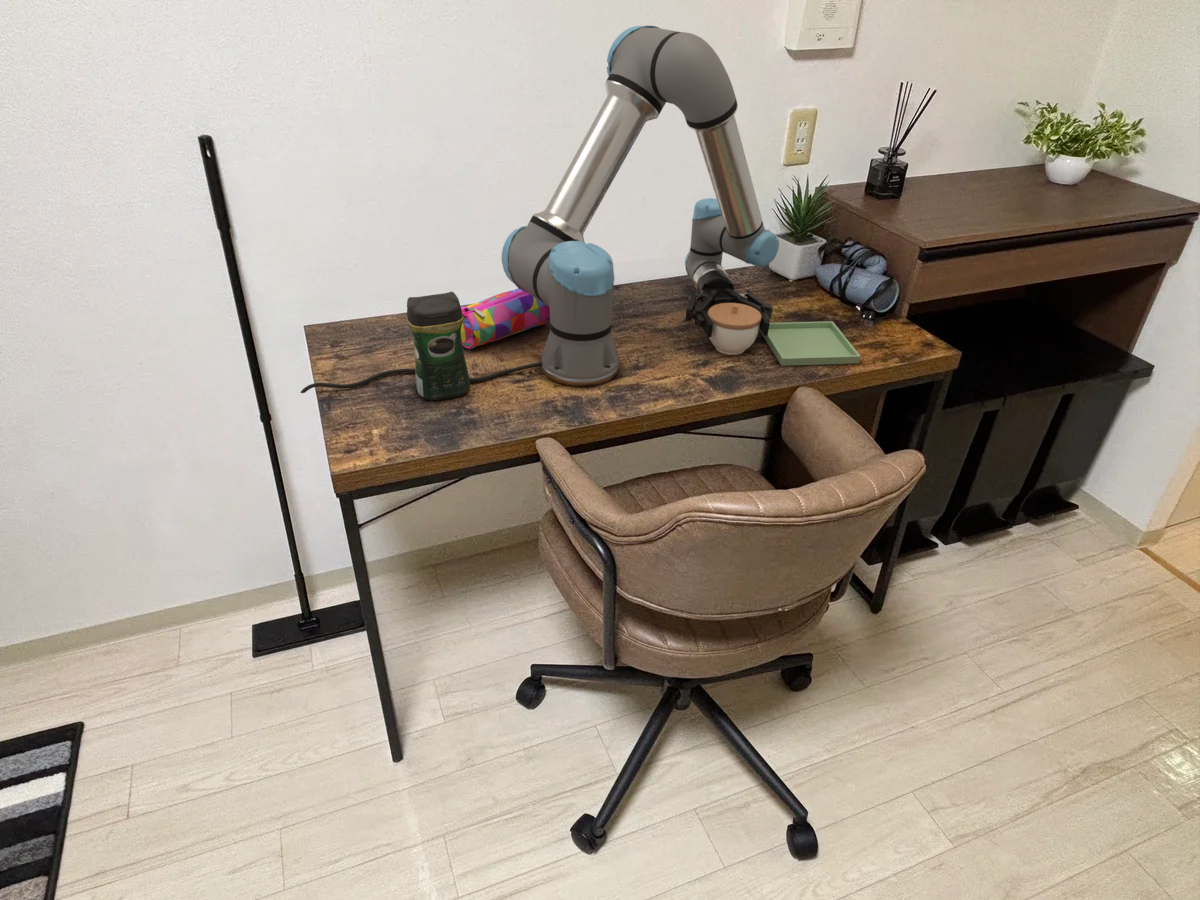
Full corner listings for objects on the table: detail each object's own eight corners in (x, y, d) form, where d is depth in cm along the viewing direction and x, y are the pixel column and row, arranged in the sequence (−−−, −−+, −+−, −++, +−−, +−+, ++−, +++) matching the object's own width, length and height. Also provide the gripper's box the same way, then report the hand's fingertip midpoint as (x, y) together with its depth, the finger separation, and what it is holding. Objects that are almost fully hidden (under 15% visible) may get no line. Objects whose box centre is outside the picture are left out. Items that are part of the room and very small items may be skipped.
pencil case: (472, 359, 152) (469, 317, 147) (446, 342, 158) (442, 301, 153) (557, 328, 165) (557, 288, 160) (530, 313, 170) (529, 274, 165)
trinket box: (754, 338, 163) (760, 296, 158) (758, 362, 154) (764, 319, 149) (703, 334, 164) (708, 293, 158) (704, 358, 155) (709, 315, 150)
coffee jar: (464, 375, 147) (455, 284, 136) (474, 396, 141) (466, 301, 130) (413, 384, 144) (400, 290, 133) (421, 405, 138) (408, 309, 127)
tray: (781, 365, 153) (782, 358, 152) (759, 329, 166) (760, 322, 166) (859, 363, 155) (861, 356, 154) (831, 327, 168) (832, 321, 167)
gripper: (762, 300, 174) (792, 345, 156) (660, 303, 171) (679, 348, 153) (767, 269, 169) (798, 311, 151) (663, 270, 167) (682, 314, 149)
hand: (738, 330), depth 152 cm, fingers closed on trinket box, 11 cm apart
